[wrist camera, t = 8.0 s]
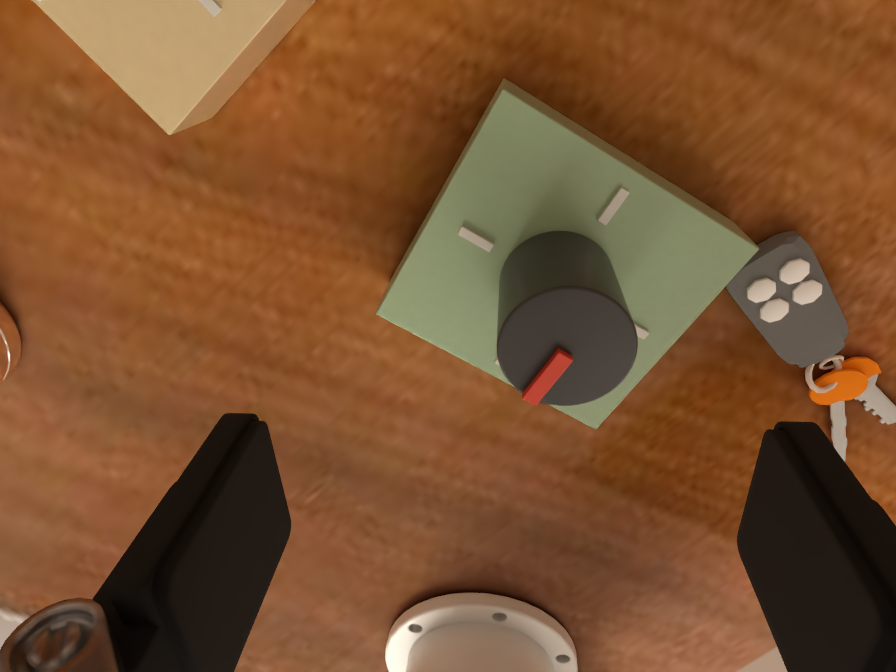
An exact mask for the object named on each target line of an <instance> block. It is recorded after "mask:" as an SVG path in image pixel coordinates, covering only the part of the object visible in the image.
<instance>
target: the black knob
mask: <svg viewBox="0 0 896 672" xmlns="http://www.w3.org/2000/svg"><path fill="white" fill-rule="evenodd" d="M637 349H638V336H637V331H636V327H635V325H634V322H633V319H632V317H631V314H630V311H629V309H628V306H627V303H626V301H625V298H624V295H623V293H622V290H621V287H620V285H619V282H618V279H617V277H616V274H615V271H614V269H613V266H612V264H611V261H610V259H609V257H608V256H607V254H606V253H605V251H604V250H603V249H602V248H601V247H600V246H599V245H598V244H597V243H595V242H594V241H593V240H591V239H589V238H587V237H585V236H583V235H581V234H578V233H574V232H569V231H551V232H545V233H542V234H538V235H536V236H533V237H531V238H529V239H527V240H526V241H524V242H523V243H521V244H520V245H519V246H517V247H516V248H515V249H514V250H513V251H512V253H511V254H510V255H509V257H508V258H507V260H506V261H505V263H504V265H503V268H502V270H501V274H500V280H499V299H498V323H497V357H498V362H499V365H500V368H501V370H502V372H503V374H504V375H505V377H506V378H507V380H508V381H509V382H510V383H511V384H512V385H513V386H514V387H515V388H516V389H517V390H518V391H520V392H521V393H522V399H524V400H526V401H527V402H529V403H531V404H533V405H535V406H536V405H537V404H538V403H539V402H541V403H545V404H550V405H557V406H572V405H580V404H584V403H588V402H591V401H594V400H596V399H598V398H601V397H603V396H604V395H606V394H608V393H609V392H611V391H612V390H613V389H615V388H616V387H617V386H618V385H619V384H620V383H621V382H622V381H623V380H624V379H625V377H626V376H627V375H628V373H629V372H630V370H631V368H632V366H633V364H634V361H635V359H636V355H637Z"/></svg>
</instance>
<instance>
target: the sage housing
mask: <svg viewBox="0 0 896 672" xmlns="http://www.w3.org/2000/svg"><path fill="white" fill-rule="evenodd" d="M551 231H569V232H574V233H578V234H581V235H583V236H585V237H587V238H589V239H591V240H593V241H594V242H595V243H597V244H598V245H599V246H600V247H601V248H602V249H603V250H604V251H605V253H606V254H607V256H608V257H609V259H610V261H611V264H612V266H613V269H614V271H615V274H616V277H617V279H618V282H619V285H620V287H621V290H622V293H623V295H624V298H625V301H626V303H627V306H628V309H629V311H630V314H631V317H632V319H633V322H634V325H635V327H636V331H637V336H638V349H637V355H636V359H635V361H634V364H633V366H632V368H631V370H630V372H629V373H628V375H627V376H626V377H625V379H624V380H623V381H622V382H621V383H620V384H619V385H618V386H617V387H616V388H615V389H613V390H612V391H611V392H609V393H608V394H606V395H604V396H603V397H601V398H598V399H596V400H594V401H591V402H588V403H584V404H580V405H572V406H557V405H550V404H548V405H550V406H552V407H554V408H556V409H557V410H559V411H561V412H563V413H565V414H567V415H569V416H571V417H573V418H575V419H576V420H578V421H580V422H582V423H584V424H586V425H588V426H590V427H592V428H594V429H597V428H598V427H599V425H600V424H601V423H602V422H603V421H604V420H605V419H606V418H607V417H608V416H609V414H610V413H611V412H612V411H613V410H614V409H615V408H616V407H617V406H618V405H619V403H620V402H621V401H622V400H623V399H624V398H625V397H626V396H627V395H628V393H629V392H630V391H631V390H632V389H633V388H634V387H635V386H636V385H637V384H638V382H639V381H640V380H641V379H642V378H643V377H644V376H645V375H646V374H647V372H648V371H649V370H650V369H651V368H652V367H653V366H654V365H655V364H656V363H657V361H658V360H659V359H660V358H661V357H662V356H663V355H664V354H665V353H666V351H667V350H668V349H669V348H670V347H671V346H672V345H673V344H674V343H675V342H676V340H677V339H678V338H679V337H680V336H681V335H682V334H683V333H684V332H685V331H686V329H687V328H688V327H689V326H690V325H691V324H692V323H693V322H694V321H695V319H696V318H697V317H698V316H699V315H700V314H701V313H702V312H703V311H704V310H705V308H706V307H707V306H708V305H709V304H710V303H711V302H712V301H713V300H714V298H715V297H716V296H717V295H718V294H719V293H720V292H721V291H722V290H723V289H724V287H725V286H726V285H727V284H728V283H729V282H730V281H731V280H732V279H733V277H734V276H735V275H736V274H737V273H738V272H739V271H740V270H741V269H742V268H743V266H744V265H745V264H746V263H747V262H748V261H749V260H750V259H751V258H752V257H753V255H754V254H755V253H756V252H757V251H758V250H759V247H758V246H757V245H756V244H755V243H754V242H753V241H752V240H751V239H750V238H749V237H748V236H747V235H746V234H745V233H744V232H743V231H742V230H741V229H740V228H739V227H738V226H737V225H736V224H735V223H734V222H733V221H732V220H730V219H728V218H727V217H725V216H724V215H722V214H720V213H719V212H717V211H716V210H714V209H712V208H711V207H709V206H708V205H706V204H704V203H703V202H701V201H700V200H698V199H696V198H695V197H693V196H692V195H690V194H689V193H687V192H685V191H684V190H682V189H681V188H679V187H677V186H676V185H674V184H673V183H671V182H669V181H668V180H666V179H665V178H663V177H661V176H660V175H658V174H657V173H655V172H653V171H652V170H650V169H649V168H647V167H645V166H644V165H642V164H641V163H639V162H637V161H636V160H634V159H633V158H631V157H629V156H628V155H626V154H625V153H623V152H622V151H620V150H618V149H617V148H615V147H614V146H612V145H610V144H609V143H607V142H606V141H604V140H602V139H601V138H599V137H598V136H596V135H594V134H593V133H591V132H590V131H588V130H586V129H585V128H583V127H582V126H580V125H578V124H577V123H575V122H574V121H572V120H570V119H569V118H567V117H566V116H564V115H562V114H561V113H559V112H558V111H556V110H555V109H553V108H551V107H550V106H548V105H547V104H545V103H543V102H542V101H540V100H539V99H537V98H535V97H534V96H532V95H531V94H529V93H527V92H526V91H524V90H523V89H521V88H519V87H518V86H516V85H515V84H513V83H511V82H510V81H508V80H507V79H503V80H502V82H501V83H500V85H499V87H498V89H497V91H496V92H495V94H494V96H493V98H492V100H491V101H490V103H489V105H488V107H487V108H486V110H485V112H484V114H483V116H482V117H481V119H480V121H479V123H478V125H477V126H476V128H475V130H474V132H473V133H472V135H471V137H470V139H469V141H468V142H467V144H466V146H465V148H464V149H463V151H462V153H461V155H460V157H459V158H458V160H457V162H456V164H455V166H454V167H453V169H452V171H451V173H450V174H449V176H448V178H447V180H446V182H445V183H444V185H443V187H442V189H441V191H440V192H439V194H438V196H437V198H436V199H435V201H434V203H433V205H432V207H431V208H430V210H429V212H428V214H427V216H426V217H425V219H424V221H423V223H422V224H421V226H420V228H419V230H418V232H417V233H416V235H415V237H414V239H413V240H412V242H411V244H410V246H409V248H408V249H407V251H406V253H405V255H404V257H403V258H402V260H401V262H400V264H399V265H398V267H397V269H396V271H395V273H394V274H393V276H392V278H391V280H390V282H389V283H388V286H387V288H386V290H385V293H384V295H383V297H382V300H381V302H380V304H379V307H378V309H377V311H376V314H377V315H378V316H380V317H382V318H384V319H386V320H388V321H390V322H392V323H394V324H395V325H397V326H399V327H401V328H403V329H405V330H407V331H409V332H411V333H413V334H415V335H416V336H418V337H420V338H422V339H424V340H426V341H428V342H430V343H432V344H434V345H435V346H437V347H439V348H441V349H443V350H445V351H447V352H449V353H451V354H453V355H455V356H456V357H458V358H460V359H462V360H464V361H466V362H468V363H470V364H472V365H474V366H475V367H477V368H479V369H481V370H483V371H485V372H487V373H489V374H491V375H493V376H495V377H496V378H498V379H500V380H502V381H504V382H506V383H508V384H510V385H512V384H511V383H510V382H509V381H508V380H507V378H506V377H505V375H504V374H503V372H502V370H501V368H500V365H499V362H498V357H497V323H498V299H499V280H500V274H501V270H502V268H503V265H504V263H505V261H506V260H507V258H508V257H509V255H510V254H511V253H512V251H513V250H514V249H515V248H516V247H517V246H519V245H520V244H521V243H523V242H524V241H526V240H527V239H529V238H531V237H533V236H536V235H538V234H542V233H545V232H551ZM512 386H513V385H512Z"/></svg>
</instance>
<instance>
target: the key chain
mask: <svg viewBox="0 0 896 672" xmlns="http://www.w3.org/2000/svg"><path fill="white" fill-rule="evenodd" d="M757 246H758V247H759V250H758V251H757V252H756V253H755V254H754V255H753V257H752V258H751V259H750V260H749V261H748V262H747V263H746V264H745V265H744V266H743V268H742V269H741V270H740V271H739V272H738V273H737V274H736V275H735V276H734V277H733V279H732V280H731V281H730V282H729V283H728V284H727V285H726V286H725V288H726V290H727V291H728V292H729V294H730V295H731V296H732V298H733V299H734V300H735V301H736V303H737V304H738V305H739V307H740V308H741V309H742V310H743V312H744V313H745V314H746V315H747V317H748V318H749V319H750V321H751V322H752V323H753V324H754V326H755V327H756V328H757V329H758V331H759V332H760V333H761V334H762V336H763V337H764V338H765V339H766V341H767V342H768V343H769V344H770V346H771V347H772V348H773V349H774V351H775V352H776V353H777V354H778V355H779V356H780V357H781V358H782V359H783V360H784V361H786V362H787V363H788V364H797V365H798V366H799V367H800V368H803V367H806V370H805V380H806V382H807V384H808V386H809V387H810V388H809V392H808V394H809V396H810V398H811V400H812V401H814V402H815V403H817V404H819V405H830V419H831V420H832V426H831V437H832V441H833V446H834V448H835V449H836V451H837V452H838V453H839V455H840V456H841V457H842V459H843V460H844V462H845V455H846V447H847V437H846V431H845V425H847V423H846V416H845V402H844V401H846V400H852V399H855V400H857V399H858V400H859V401H860V402H862V401H863V400H865V401H866V402H864V403H862V404H863V405H864V406H865V407H863V408H864V409H865V410H866V411H869V410H870V409H872V408H873V411H871V413H872V414H873V415H874V416H875V415H876V414H878V415H879V416H880V417H881V419H879V421H880V422H881V423H882V424H883V423H885V422H886V423H887V424H888V425H889V424H892V423H895V422H896V406H895V405H894V404H893V403H892V402H891V401H890V400H889V399H888V398H887V397H886V396H885V395H884V394H883V393H882V392H881V390H880V389H879V388H878V387H877V386H876V385H875V383H876V380H877V377H878V374H879V373H881V371H880V368H879V366H878V364H877V363H876V362H875V361H873V360H871V359H869V358H867V357H851V358H849V359H846V360H844V357H843V356H841V355H834V354H836V353H838V352H839V351H840V350H841V349H842V348H843V347H844V346H845V345H846V344H845V342H844V339H845V338H846V337H847V335H848V334H849V332H848V327H847V322H846V319H845V317H844V315H843V313H842V311H841V308H840V306H839V304H838V302H837V300H836V298H835V296H834V293H833V291H832V289H831V287H830V285H829V283H828V281H827V279H826V277H825V275H824V272H823V270H822V268H821V266H820V264H819V262H818V260H817V258H816V256H815V254H814V252H813V250H812V248H811V246H810V245H809V244H808V243H807V242H806V241H805V240H804V239H803V238H802V237H801V236H800V235H799V234H798V233H796V232H795V231H788V232H782V233H779V234H777V235H774V236H772V237H770V238H768V239H766V240H765V241H763V242H761V243H759V244H757ZM826 358H827V359H826ZM824 359H825V360H824ZM839 359H840V360H839ZM822 360H823V361H822ZM831 360H832V361H833V363H834V364H832V365H830V366H824V367H823V365H824V364H825V363H827V362H829V361H831ZM820 361H822V362H821V363H820V364H819V368H820V369H822V370H828V369H832V368H834V367H835V368H834V369H833V370H832V371H831V372H829V373H826V374H824V375H823V376H821V377H819V378H818V379H816V380H815V381H814V382H813V380H812V371H813V368H814V365H815V364H816V363H818V362H820Z"/></svg>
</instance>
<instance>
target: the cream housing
mask: <svg viewBox="0 0 896 672" xmlns="http://www.w3.org/2000/svg"><path fill="white" fill-rule="evenodd" d="M33 1H34V2H35V3H36V4H37V5H38V6H39V7H40V8H41V9H42V10H43V11H44V12H45V13H46V14H47V15H48V16H49V17H50V18H51V19H52V20H53V21H54V22H55V23H56V24H57V25H58V26H59V27H60V28H61V29H62V30H63V31H64V32H65V33H66V34H67V35H68V36H69V37H70V38H71V39H72V40H73V41H74V42H75V43H76V44H77V45H78V46H79V47H80V48H81V49H82V50H83V51H84V52H85V53H86V54H87V55H88V56H89V57H90V58H91V59H92V60H93V61H94V62H95V63H96V64H97V65H98V66H99V67H100V68H101V69H102V70H103V71H104V72H105V73H106V74H108V75H109V76H110V77H111V78H112V79H113V80H114V81H115V82H116V83H117V84H118V85H119V86H120V87H121V88H122V89H123V90H124V91H125V92H126V93H127V94H128V95H129V96H130V97H131V98H132V99H133V100H134V101H135V102H136V103H137V104H138V105H139V106H140V107H141V108H142V109H143V110H144V111H145V112H146V113H147V114H148V115H149V116H150V117H151V118H152V119H153V120H154V121H155V122H156V123H157V124H158V125H159V126H160V127H161V128H162V129H163V130H164V131H165V132H166V133H167V134H168V135H172V134H174V133H177V132H179V131H181V130H184V129H186V128H189V127H191V126H194V125H196V124H199V123H201V122H203V121H206V120H208V119H211V118H212V117H213V116H214V115H215V114H216V113H217V112H218V111H219V110H220V108H221V107H222V106H223V105H224V104H225V103H226V102H227V101H228V99H229V98H230V97H231V96H232V95H233V94H234V93H235V92H236V90H237V89H238V88H239V87H240V86H241V85H242V84H243V83H244V81H245V80H246V79H247V78H248V77H249V76H250V75H251V74H252V72H253V71H254V70H255V69H256V68H257V67H258V66H259V65H260V63H261V62H262V61H263V60H264V59H265V58H266V57H267V56H268V54H269V53H270V52H271V51H272V50H273V49H274V48H275V47H276V45H277V44H278V43H279V42H280V41H281V40H282V39H283V38H284V36H285V35H286V34H287V33H288V32H289V31H290V30H291V29H292V27H293V26H294V25H295V24H296V23H297V22H298V21H299V20H300V18H301V17H302V16H303V15H304V14H305V13H306V12H307V10H308V9H309V8H310V7H311V6H312V5H313V4H314V3H315V1H316V0H33Z"/></svg>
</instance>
